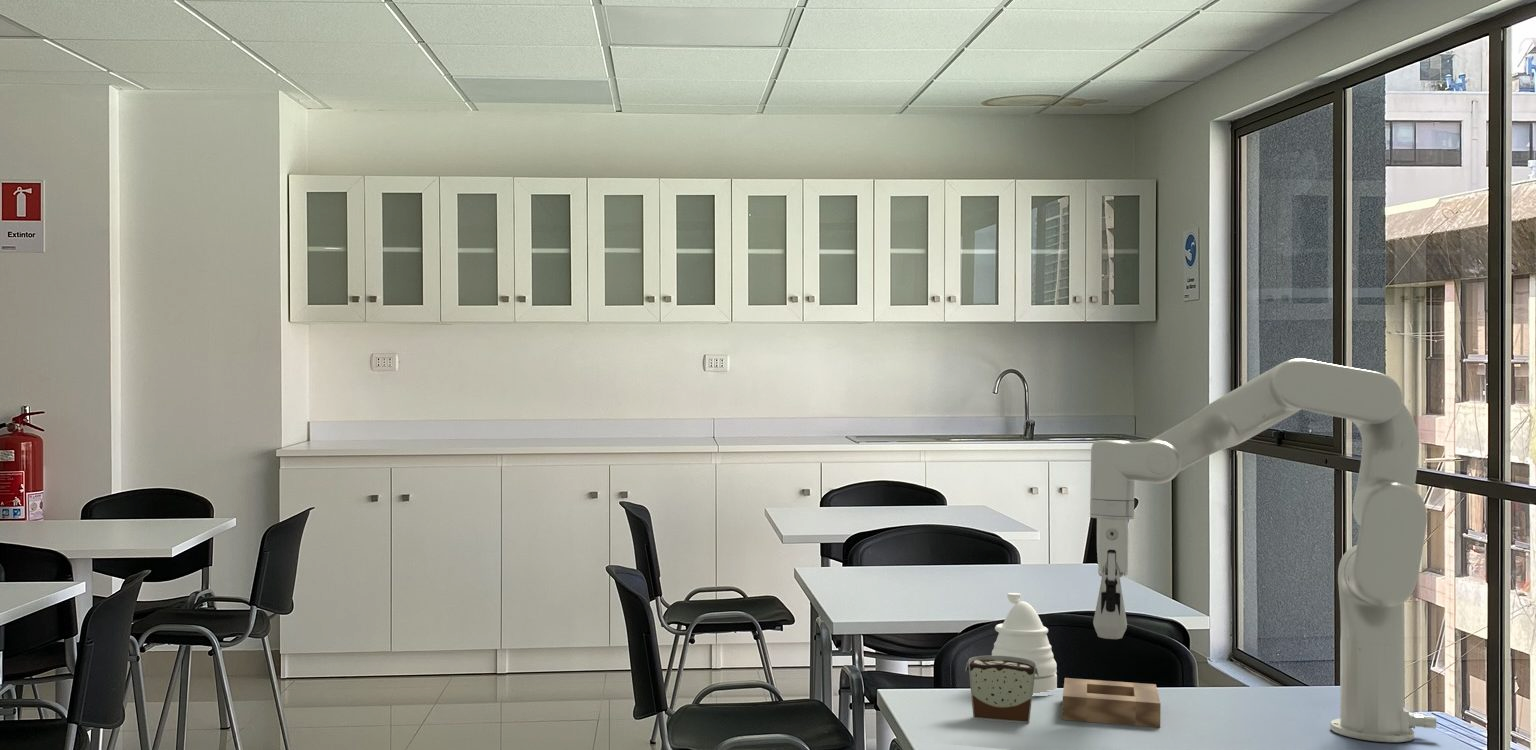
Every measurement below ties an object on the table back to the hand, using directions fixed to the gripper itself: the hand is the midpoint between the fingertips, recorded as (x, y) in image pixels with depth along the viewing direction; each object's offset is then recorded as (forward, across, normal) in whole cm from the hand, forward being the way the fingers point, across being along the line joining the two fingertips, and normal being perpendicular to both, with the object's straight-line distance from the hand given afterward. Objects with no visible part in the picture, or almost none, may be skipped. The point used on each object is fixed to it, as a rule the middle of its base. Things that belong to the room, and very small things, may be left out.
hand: (1110, 613), depth 216 cm
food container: (+18, -10, +18) cm, 27 cm away
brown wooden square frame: (+17, 0, 0) cm, 17 cm away
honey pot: (+18, +14, +16) cm, 28 cm away
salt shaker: (+4, 0, 0) cm, 4 cm away
